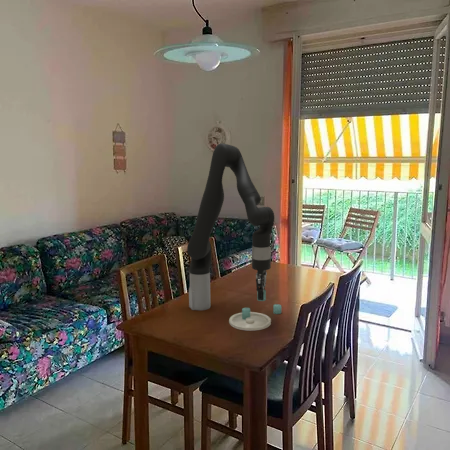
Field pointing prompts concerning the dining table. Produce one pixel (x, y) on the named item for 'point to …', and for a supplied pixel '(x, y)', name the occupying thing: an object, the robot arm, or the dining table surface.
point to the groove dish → (250, 321)
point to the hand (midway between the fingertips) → (261, 297)
